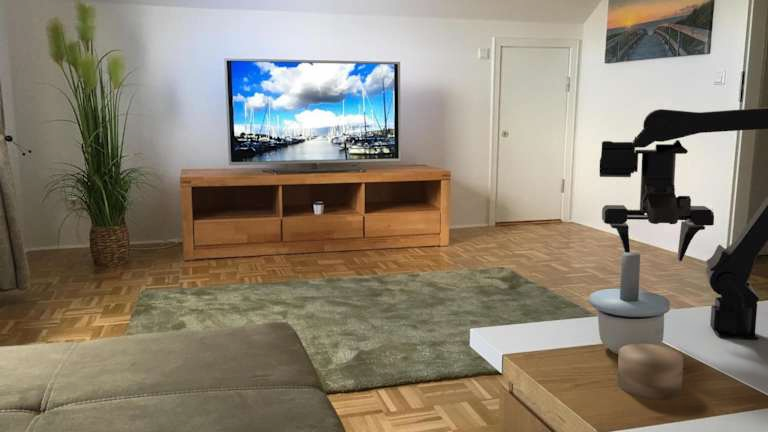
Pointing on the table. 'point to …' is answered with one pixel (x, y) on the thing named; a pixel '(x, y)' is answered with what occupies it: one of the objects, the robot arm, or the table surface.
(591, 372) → the table surface
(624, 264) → the lid
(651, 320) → the teacup
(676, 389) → the stone
